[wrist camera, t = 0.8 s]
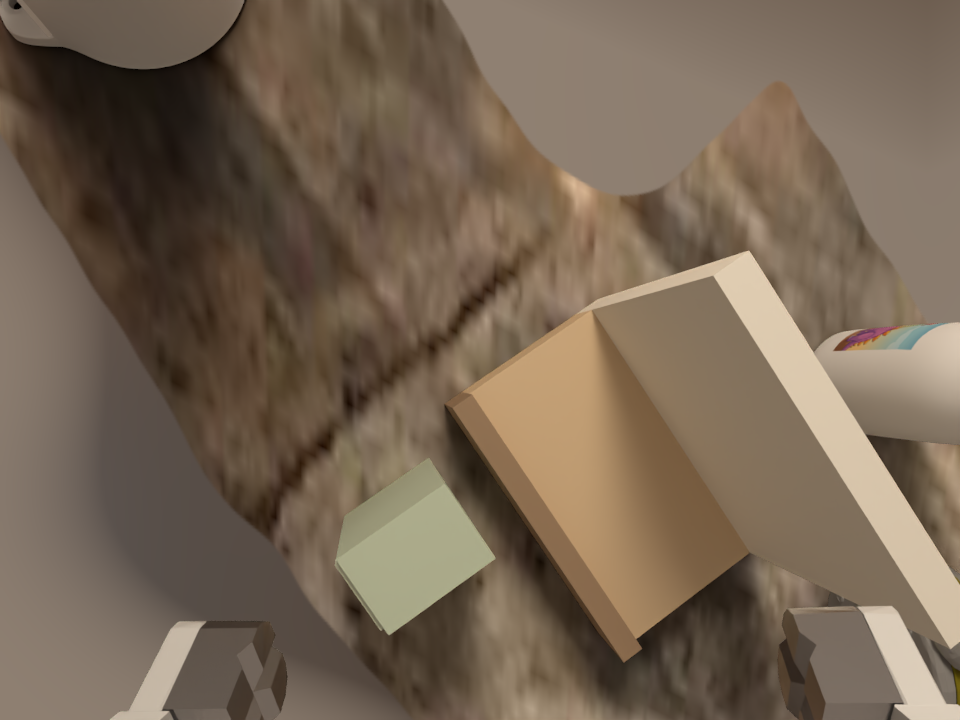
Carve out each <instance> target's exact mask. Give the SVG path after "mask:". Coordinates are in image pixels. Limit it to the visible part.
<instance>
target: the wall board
mask: <svg viewBox="0 0 960 720" xmlns="http://www.w3.org/2000/svg"><path fill="white" fill-rule="evenodd" d="M445 406H446V407H447V409H448V410H449V412H450V413H451V415H452V416H453V418H454V419H455V421H456V422H457V424H458V425H459V427H460V428H461V430H462V431H463V433H464V434H465V435H466V437H467V438H468V440H469V441H470V443H471V444H472V446H473V447H474V449H475V450H476V452H477V453H478V455H479V456H480V458H481V459H482V461H483V462H484V464H485V465H486V467H487V468H488V470H489V471H490V473H491V474H492V476H493V477H494V479H495V480H496V482H497V483H498V485H499V486H500V487H501V489H502V490H503V492H504V493H505V495H506V496H507V498H508V499H509V501H510V502H511V504H512V505H513V507H514V508H515V510H516V511H517V513H518V514H519V516H520V517H521V519H522V520H523V522H524V523H525V525H526V526H527V528H528V529H529V531H530V532H531V534H532V535H533V537H534V538H535V539H536V541H537V542H538V544H539V545H540V547H541V548H542V550H543V551H544V553H545V554H546V556H547V557H548V559H549V560H550V562H551V563H552V565H553V566H554V568H555V569H556V571H557V572H558V574H559V575H560V577H561V578H562V580H563V581H564V583H565V584H566V586H567V587H568V588H569V590H570V591H571V593H572V594H573V596H574V597H575V599H576V600H577V602H578V603H579V605H580V606H581V608H582V609H583V611H584V612H585V614H586V615H587V617H588V618H589V620H590V621H591V623H592V624H593V626H594V627H595V629H596V630H597V632H598V633H599V634H600V635H601V637H602V638H603V639H604V640H605V641H606V642H607V644H608V645H609V646H610V647H611V648H612V649H613V651H614V652H615V653H616V654H617V655H618V656H619V658H620V659H621V660H622V661H623V662H625V661H627V660H628V659H629V658H631V657H632V656H633V655H635V654H636V653H637V652H639V651H640V650H641V649H642V647H641V646H640V645H639V643H638V642H637V640H636V639H637V638H638V637H639V636H641V635H642V634H643V633H645V632H646V631H647V630H649V629H650V628H651V627H653V626H654V625H655V624H657V623H658V622H659V621H661V620H662V619H663V618H664V617H666V616H667V615H668V614H670V613H671V612H672V611H674V610H675V609H676V608H678V607H679V606H680V605H682V604H683V603H684V602H686V601H687V600H688V599H689V598H691V597H692V596H693V595H695V594H696V593H697V592H699V591H700V590H701V589H703V588H704V587H705V586H707V585H708V584H709V583H710V582H712V581H713V580H714V579H716V578H717V577H718V576H720V575H721V574H722V573H724V572H725V571H726V570H728V569H729V568H730V567H732V566H733V565H734V564H735V563H737V562H738V561H739V560H741V559H742V558H743V557H745V556H746V555H747V554H749V553H752V554H754V555H756V556H758V557H760V558H762V559H764V560H766V561H768V562H771V563H773V564H775V565H777V566H779V567H781V568H783V569H785V570H787V571H789V572H791V573H793V574H795V575H798V576H800V577H802V578H804V579H806V580H808V581H810V582H812V583H814V584H816V585H818V586H820V587H822V588H825V589H827V590H829V591H831V592H833V593H835V594H837V595H839V596H841V597H843V598H845V599H847V600H849V601H852V602H854V603H856V604H858V605H860V606H862V607H865V606H892V607H893V608H895V609H896V610H897V611H898V612H899V614H900V616H901V618H902V620H903V622H904V624H905V626H906V628H908V629H910V630H912V631H914V632H916V633H918V634H920V635H922V636H924V637H926V638H928V639H930V640H932V641H935V642H937V643H939V644H941V645H943V646H945V647H947V648H949V649H951V648H953V647H954V646H955V645H956V644H958V643H959V642H960V584H959V583H958V581H957V580H956V578H955V577H954V575H953V573H952V572H951V570H950V569H949V567H948V565H947V564H946V562H945V561H944V559H943V557H942V556H941V554H940V553H939V551H938V550H937V548H936V546H935V545H934V543H933V542H932V540H931V538H930V537H929V535H928V534H927V532H926V531H925V529H924V527H923V526H922V524H921V523H920V521H919V519H918V518H917V516H916V515H915V513H914V511H913V510H912V508H911V507H910V505H909V504H908V502H907V500H906V499H905V497H904V496H903V494H902V492H901V491H900V489H899V488H898V486H897V484H896V483H895V481H894V480H893V478H892V477H891V475H890V473H889V472H888V470H887V469H886V467H885V465H884V464H883V462H882V461H881V459H880V457H879V456H878V454H877V453H876V451H875V450H874V448H873V446H872V445H871V443H870V442H869V440H868V438H867V437H866V435H865V434H864V432H863V430H862V429H861V427H860V426H859V424H858V423H857V421H856V419H855V418H854V416H853V415H852V413H851V411H850V410H849V408H848V407H847V405H846V403H845V402H844V400H843V399H842V397H841V396H840V394H839V392H838V391H837V389H836V388H835V386H834V384H833V383H832V381H831V380H830V378H829V377H828V375H827V373H826V372H825V370H824V369H823V367H822V365H821V364H820V362H819V361H818V359H817V357H816V356H815V354H814V353H813V351H812V350H811V348H810V346H809V345H808V343H807V342H806V340H805V338H804V337H803V335H802V334H801V332H800V330H799V329H798V327H797V326H796V324H795V323H794V321H793V319H792V318H791V316H790V315H789V313H788V311H787V310H786V308H785V307H784V305H783V303H782V302H781V300H780V299H779V297H778V296H777V294H776V292H775V291H774V289H773V288H772V286H771V284H770V283H769V281H768V280H767V278H766V276H765V275H764V273H763V272H762V270H761V269H760V267H759V265H758V264H757V262H756V261H755V259H754V257H753V256H752V254H751V253H750V251H746V252H743V253H740V254H737V255H734V256H731V257H728V258H725V259H721V260H718V261H715V262H712V263H709V264H706V265H703V266H700V267H697V268H693V269H690V270H687V271H684V272H681V273H678V274H675V275H672V276H669V277H665V278H662V279H659V280H656V281H653V282H650V283H647V284H644V285H641V286H637V287H634V288H631V289H628V290H625V291H622V292H619V293H616V294H613V295H609V296H606V297H603V298H600V299H598V300H596V301H595V302H593V303H592V304H590V305H589V306H587V307H586V308H584V309H583V310H581V311H580V312H579V313H577V314H576V315H574V316H573V317H571V318H570V319H568V320H567V321H565V322H564V323H562V324H561V325H559V326H558V327H557V328H555V329H554V330H552V331H551V332H549V333H548V334H546V335H545V336H543V337H542V338H540V339H539V340H537V341H536V342H535V343H533V344H532V345H530V346H529V347H527V348H526V349H524V350H523V351H521V352H520V353H518V354H517V355H516V356H514V357H513V358H511V359H510V360H508V361H507V362H505V363H504V364H502V365H501V366H499V367H498V368H496V369H495V370H494V371H492V372H491V373H489V374H488V375H486V376H485V377H483V378H482V379H480V380H479V381H477V382H476V383H474V384H473V385H472V386H470V387H469V388H467V389H466V390H464V391H463V392H461V393H460V394H458V395H457V396H455V397H454V398H452V399H451V400H450V401H448V402H447V403H445Z"/></svg>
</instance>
